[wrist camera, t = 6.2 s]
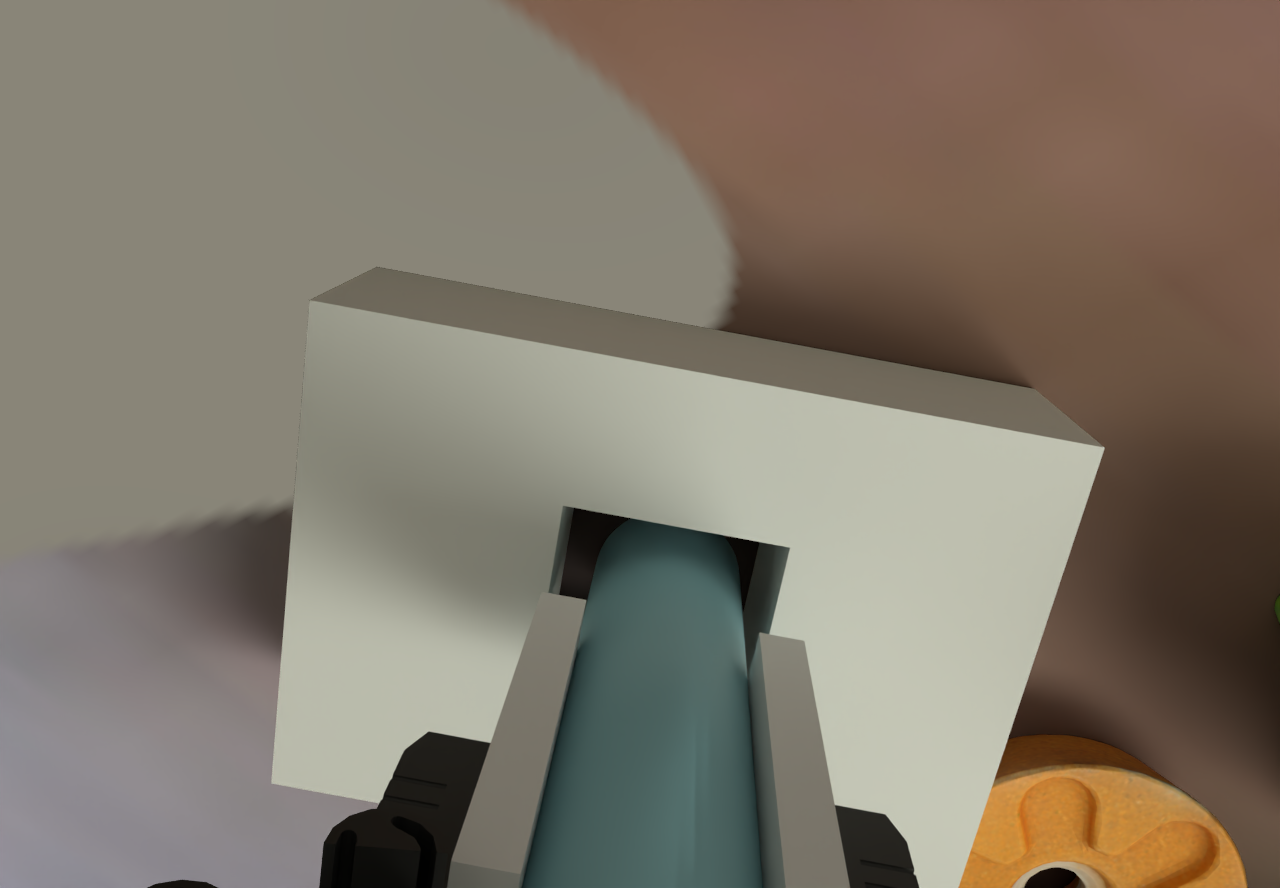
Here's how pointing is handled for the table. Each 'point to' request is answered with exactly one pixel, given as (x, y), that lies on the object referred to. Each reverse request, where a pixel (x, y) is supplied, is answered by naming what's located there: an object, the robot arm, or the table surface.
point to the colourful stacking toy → (1095, 822)
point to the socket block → (672, 495)
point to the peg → (654, 726)
